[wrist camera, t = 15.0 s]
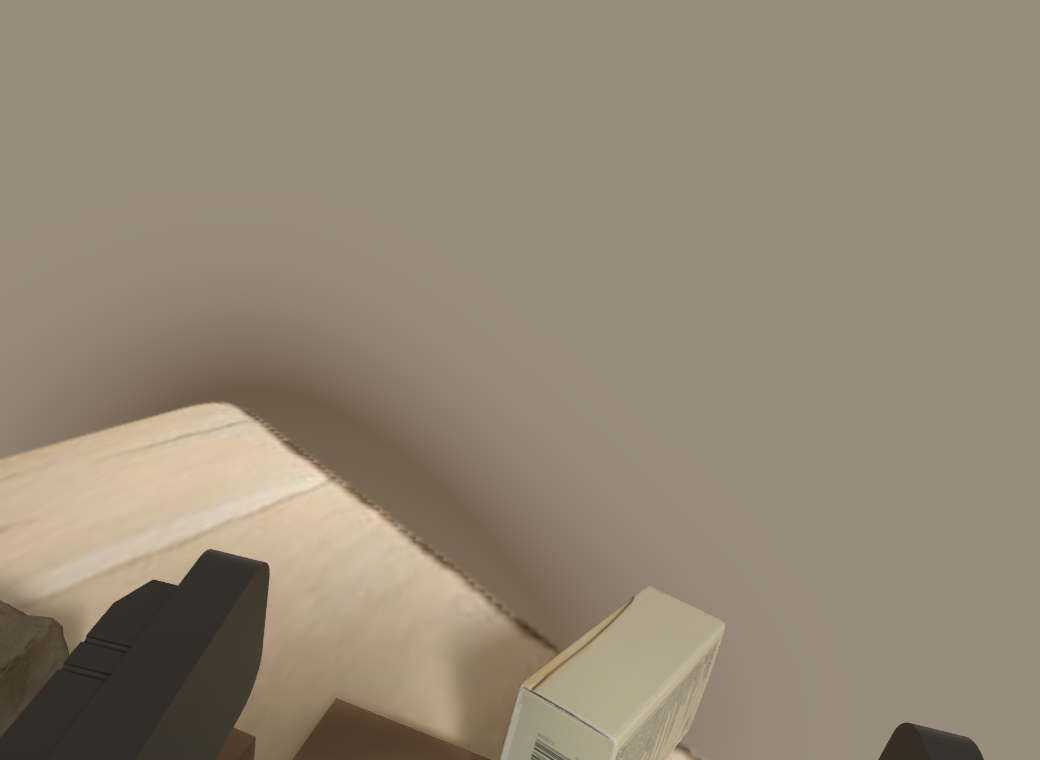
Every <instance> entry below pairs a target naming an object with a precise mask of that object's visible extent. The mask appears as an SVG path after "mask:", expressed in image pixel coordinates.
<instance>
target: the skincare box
mask: <svg viewBox="0 0 1040 760" xmlns="http://www.w3.org/2000/svg"><path fill="white" fill-rule="evenodd" d="M724 629H725V625H724V623H723V622H722V621H721V620H719V619H717V618H715V617H713V616H711V615H709V614H707V613H705V612H703V611H701V610H699V609H697V608H695V607H692V606H690V605H688V604H686V603H684V602H682V601H680V600H678V599H676V598H673V597H671V596H669V595H667V594H665V593H662V592H661V591H658V590H656V589H654V588H652V587H650V586H646V587H645V588H644V589H642V590H641V591H640V592H638V593H637V594H636V595H635V596H633V597H632V598H631V599H630V600H628V601H627V602H626V603H624V604H623V605H621V606H620V607H619V608H618V609H616V610H615V611H614V612H613V613H611V614H610V615H609V616H607V617H606V618H605V619H604V620H602V621H601V622H600V623H598V624H597V625H596V626H594V627H593V628H592V629H591V630H589V631H588V632H586V633H585V634H584V635H583V636H581V637H580V638H579V639H578V640H576V641H575V642H574V643H572V644H571V645H570V646H568V647H567V648H566V649H565V650H563V651H562V652H560V653H559V654H558V655H557V656H556V657H554V658H553V659H552V660H550V661H549V662H548V663H546V664H545V665H544V666H543V667H541V668H540V669H539V670H537V671H536V672H535V673H534V674H532V675H531V676H530V677H529V678H527V679H526V680H525V681H523V682H522V683H521V685H520V687H519V690H518V694H517V697H516V700H515V704H514V707H513V711H512V714H511V718H510V722H509V725H508V729H507V732H506V736H505V740H504V743H503V747H502V751H501V754H500V758H499V760H666V758H667V757H668V756H669V755H670V753H671V752H672V751H673V749H674V748H675V747H676V746H677V744H678V743H679V742H680V741H681V739H682V738H683V737H684V735H685V734H686V733H687V732H688V730H689V729H690V726H691V723H692V721H693V718H694V716H695V713H696V710H697V708H698V705H699V702H700V700H701V697H702V695H703V692H704V689H705V686H706V684H707V681H708V678H709V676H710V673H711V670H712V667H713V663H714V661H715V658H716V654H717V651H718V648H719V645H720V642H721V639H722V636H723V632H724Z"/></svg>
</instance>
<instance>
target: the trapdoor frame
mask: <svg viewBox="0 0 1040 760" xmlns="http://www.w3.org/2000/svg"><path fill="white" fill-rule="evenodd" d="M255 739H256V737H254V736H252V735H250V734H247V733H245V732H242V731H240V730H238V729H235V728H233V729H232V731H231V732H230V734H229V736H228V738H227V740H226V742H225V744H224V745H223V747H222V749H221V751H220V753H219V755H218V757H217V758H216V760H254V751H255ZM293 760H490V759H487V758H485V757H482V756H480V755H477V754H475V753H472V752H470V751H467V750H465V749H462V748H460V747H457V746H455V745H452V744H450V743H447V742H445V741H442V740H440V739H437V738H435V737H432V736H430V735H427V734H425V733H422V732H420V731H417V730H415V729H412V728H410V727H407V726H404V725H402V724H399V723H397V722H394V721H392V720H389V719H387V718H384V717H382V716H379V715H377V714H374V713H372V712H369V711H367V710H364V709H362V708H359V707H357V706H354V705H352V704H349V703H347V702H344V701H342V700H339V699H337V698H336V700H335V701H334V702H333V704H332V705H331V707H330V708H329V709H328V711H327V712H326V714H325V715H324V716H323V718H322V719H321V721H320V722H319V724H318V725H317V726H316V728H315V729H314V731H313V732H312V733H311V735H310V736H309V738H308V739H307V740H306V742H305V743H304V745H303V746H302V747H301V749H300V750H299V752H298V753H297V754H296V756H295V757H294V759H293Z"/></svg>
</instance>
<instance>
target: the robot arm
mask: <svg viewBox="0 0 1040 760" xmlns="http://www.w3.org/2000/svg"><path fill="white" fill-rule="evenodd" d="M268 586H269V565H268V564H267V563H265V562H261V561H257V560H253V559H249V558H245V557H241V556H237V555H233V554H229V553H225V552H221V551H216V550H212V549H209V550H207V551H205V552H204V553H203V554H202V555H201V556H200V558H199V559H198V560H197V562H196V563H195V564H194V566H193V567H192V568H191V569H190V571H189V572H188V573H187V575H186V576H185V577H184V579H183V580H182V581H181V583H180V584H179V585H178V586H177V585H173V584H169V583H165V582H161V581H157V580H152V581H150V582H148V583H147V584H145V585H143V586H141V587H140V588H138V589H136V590H135V591H133V592H131V593H130V594H128V595H126V596H125V597H123V598H121V599H120V600H118V601H116V602H115V603H113V604H112V606H111V607H110V608H109V609H108V610H107V612H106V613H105V614H104V615H103V616H102V617H101V619H100V620H99V621H98V622H97V623H96V625H95V626H94V627H93V628H92V629H91V631H90V632H89V633H88V634H87V635H86V639H85V641H84V642H80V644H79V645H78V646H77V647H76V648H75V650H74V651H73V652H72V653H71V654H70V655H69V657H68V658H67V659H66V660H65V661H64V664H63V667H62V669H61V670H57V671H56V672H55V673H54V675H53V676H52V677H51V678H50V679H49V680H48V682H47V683H46V684H45V685H44V686H43V688H42V689H41V690H40V691H39V692H38V694H37V695H36V696H35V697H34V698H33V699H32V701H31V702H30V703H29V704H28V705H27V707H26V708H25V709H24V710H23V711H22V713H21V714H20V715H19V716H18V717H17V718H16V720H15V721H14V722H13V723H12V724H11V726H10V727H9V728H8V729H7V730H6V732H5V733H4V734H3V735H2V736H1V738H0V760H216V758H217V757H218V755H219V753H220V751H221V749H222V747H223V745H224V744H225V742H226V740H227V738H228V736H229V734H230V732H231V731H232V729H233V727H234V725H235V723H236V721H237V719H238V718H239V716H240V714H241V712H242V710H243V708H244V706H245V704H246V703H247V700H248V698H249V696H250V693H251V691H252V688H253V686H254V683H255V680H256V677H257V673H258V670H259V666H260V661H261V656H262V648H263V637H264V627H265V617H266V606H267V596H268ZM879 760H984V759H983V757H982V755H981V752H980V750H979V749H978V747H977V745H976V744H975V743H974V742H973V741H972V740H971V739H970V738H967V737H965V736H960V735H956V734H952V733H948V732H944V731H940V730H936V729H932V728H928V727H924V726H920V725H915V724H911V723H902V724H901V725H899V726H898V727H897V728H896V729H895V731H894V733H893V734H892V736H891V738H890V740H889V741H888V743H887V745H886V747H885V749H884V751H883V752H882V754H881V756H880V758H879Z"/></svg>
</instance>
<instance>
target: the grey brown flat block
mask: <svg viewBox="0 0 1040 760" xmlns="http://www.w3.org/2000/svg"><path fill="white" fill-rule="evenodd" d="M68 657H69V652H68V648H67V644H66V641H65V639H64V636H63V627H62V626H61V625H60V624H59V623H58V622H57V621H55V620H54V619H52V618H48V617H40V616H28V615H26V614H25V613H23V612H21V611H19V610H17V609H15V608H13V607H12V606H10V605H9V604H7V603H4V602H2V601H0V738H1V736H2V735H3V734H4V733H5V732H6V730H7V729H8V728H9V727H10V726H11V724H12V723H13V722H14V721H15V720H16V718H17V717H18V716H19V715H20V714H21V713H22V711H23V710H24V709H25V708H26V707H27V705H28V704H29V703H30V702H31V701H32V699H33V698H34V697H35V696H36V695H37V694H38V692H39V691H40V690H41V689H42V688H43V686H44V685H45V684H46V683H47V682H48V680H49V679H50V678H51V677H52V676H53V675H54V673H55V672H56V671H57V670H61V669H62V667H63V664H64V661H65V660H66V659H67V658H68Z"/></svg>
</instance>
